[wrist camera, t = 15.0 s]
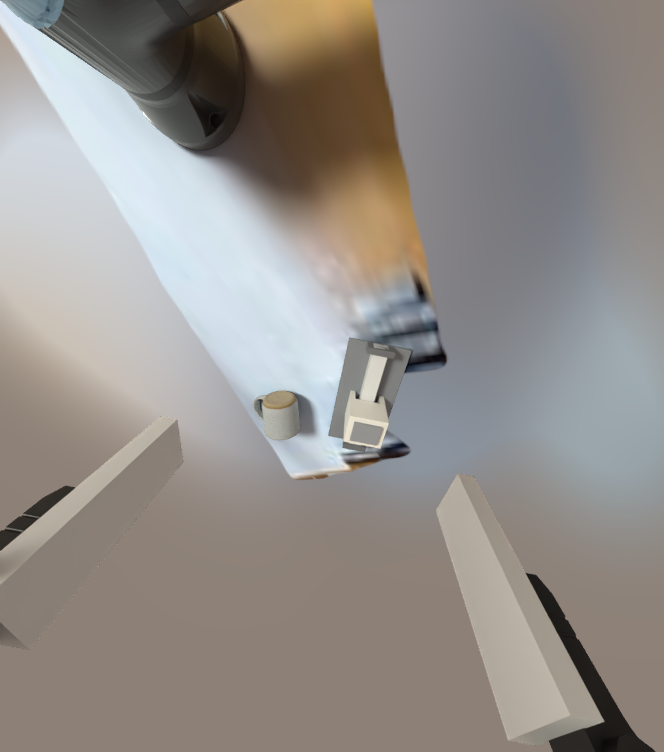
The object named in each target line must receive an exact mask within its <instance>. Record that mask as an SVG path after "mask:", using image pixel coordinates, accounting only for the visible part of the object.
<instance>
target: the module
mask: <svg viewBox="0 0 664 752" xmlns="http://www.w3.org/2000/svg"><path fill="white" fill-rule="evenodd" d="M388 425H389V421H388V416H387V411H386V406H385V401H384V397H383V396H379V397H378V400H377V403H375V402H369V401H364V400H359V399H355V391H352V390H351V391H350V395H349V399H348V403H347V408H346V412H345V423H344V439H343V441H344V442H349V443H354V444H359V445H364V446H369V447H375V448H380V447H381V444H382V442H383V439H384V436H385V433H386V430H387V427H388Z"/></svg>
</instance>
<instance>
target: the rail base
mask: <svg viewBox="0 0 664 752" xmlns="http://www.w3.org/2000/svg"><path fill="white" fill-rule="evenodd" d="M411 351H412V350H410V349H405V348H400V347H395V346H390V345H385V344H379V343H374V342H369V341H364V340H359V339H354V338H349V342H348V346H347V351H346V356H345V360H344V365H343V369H342V374H341V379H340V383H339V388H338V393H337V397H336V402H335V407H334V411H333V416H332V421H331V425H330V430H329V435H328V436H332V437H337V438H342V439H344V423H345V412H346V408H347V403H348V399H349V395H350V391H351V390H352V391H355V399H359V400H364V401H369V402H375V403H377V400H378V397H379V396H383V397H384V401H385V406H386V411H387V416H388V418H389V415H390V412H391V409H392V406H393V403H394V401H395V398H396V395H397V392H398V389H399V386H400V383H401V380H402V377H403V375H404V372H405V369H406V366H407V363H408V360H409V357H410V354H411ZM343 448H346V449H352V450H357V451H362V452H365V449H366V446H364V445H359V444H354V443H349V442H344V441H343Z"/></svg>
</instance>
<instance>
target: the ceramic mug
mask: <svg viewBox="0 0 664 752" xmlns="http://www.w3.org/2000/svg"><path fill="white" fill-rule="evenodd" d="M260 399H262V400H263V403H262V411H263V412H262V411H261V409H260ZM253 405H254V410H255V413H256V414H257V416H258V417H259V418H260V419H261V420H263V421H264V431H265V434H266V435H267V436H268V437H269V438H271V439H273V440H286V439H289V438H292V437H294V436H295V435H296V434H297V433H298V432H299V430H300V418H299V410H298V401H297V398H296V396H295V395H294V394H293V393H291V392H288V391H276V392H273V393H270V394H268V395H267V396H266V395H262V396H259V397H257V398H256V399H255V400H254V404H253Z"/></svg>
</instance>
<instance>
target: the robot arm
mask: <svg viewBox="0 0 664 752" xmlns="http://www.w3.org/2000/svg"><path fill="white" fill-rule="evenodd" d="M1 1H2V2H3V3H5V4H6V5H7V7H8V8H9V9H10V10H11V11H12V12H13V13H14V14H16V15H17V16H18V17H20V18H21V19H22V20H23V21H25V22H26V23H28V24H30V25H32V26H33V27H35V28H36V29H38V30H39V31H41V32H42V33H44V34H45V35H47V36H48V37H49V38H51V39H52V40H54V41H55V42H57V43H58V44H60V45H61V46H63V47H64V48H66V49H67V50H68V51H70V52H71V53H73V54H74V55H76V56H77V57H79V58H80V59H82V60H83V61H85V62H86V63H87V64H89V65H90V66H92V67H93V68H95V69H96V70H98V71H99V72H101V73H102V74H104V75H105V76H106V77H108V78H109V79H111V80H112V81H114V82H115V83H117V84H118V85H120V86H121V87H122V88H124V89H125V90H126V91H127V93H128V94H129V95H130V96H131V98H132V99H133V100H134V101H135V103H136V104H137V105H138V107H139V108H140V110H141V111H142V112H143V114H144V115H145V116H146V118H147V119H148V120H149V121H150V122H151V123H152V124H153V125H154V126H155V127H156V128H157V129H158V130H159V131H160V132H162V133H163V134H164V135H166V136H167V137H169V138H170V139H172V140H174V141H175V142H177V143H178V144H180V145H182V146H185V147H187V148H190V149H195V150H206V149H211V148H214V147H216V146H218V145H220V144H221V143H223V142H224V141H225V140H226V139H227V138H228V137H229V136H230V135H231V133H232V132H233V130H234V129H235V127H236V125H237V123H238V120H239V118H240V115H241V111H242V107H243V102H244V93H245V78H244V68H243V62H242V57H241V53H240V49H239V46H238V43H237V40H236V38H235V35H234V33H233V31H232V29H231V27H230V25H229V23H228V21H227V19H226V18H225V16H224V14H223V12H222V10H224V9H226V8H228V7H230V6H232V5H234V4H236V3H238V2H240V1H242V0H1ZM177 422H178V421H177V419H172V418H167V417H162V416H161V417H159V418H158V419H157V420H156V421H155V422H153V423H152V424H151V425H150V426H149V427H147V428H146V429H145V430H144V431H143V432H142V433H140V434H139V435H138V436H137V437H136V438H134V439H133V440H132V441H131V442H130V443H128V444H127V445H126V446H125V447H124V448H122V449H121V450H120V451H119V452H118V453H117V454H115V455H114V456H113V457H112V458H111V459H109V460H108V461H107V462H106V463H105V464H103V465H102V466H101V467H100V468H99V469H98V470H96V471H95V472H94V473H93V474H92V475H90V476H89V477H88V478H87V479H86V480H84V481H83V482H82V483H81V484H80V485H78V486H77V487H76V488H75V487H69V486H64V487H62V488H60V489H59V490H57V491H55V492H53V493H51V494H49V495H47V496H45V497H44V498H42V499H41V500H40V501H38V502H37V503H36V504H35V505H33V506H32V507H31V508H29V509H28V510H27V511H26V512H24V513H23V515H22V516H21V517H18V518H17V519H15V520H14V521H13V522H12V523H10V524H9V525H8V526H7V527H6V529H5V530H1V531H0V644H1V645H5V646H11V647H16V648H22V649H27V650H30V649H31V648H32V647H33V645H34V644H35V643H36V642H37V641H38V639H39V638H40V637H41V636H42V634H43V633H44V632H45V631H46V630H47V628H48V627H49V626H50V625H51V623H52V622H53V621H54V620H55V619H56V617H57V616H58V615H59V613H60V612H61V611H62V610H63V609H64V608H65V606H66V605H67V604H68V603H69V602H70V600H71V599H72V598H73V597H74V595H75V594H76V593H77V592H78V590H79V589H80V588H81V587H82V586H83V584H84V583H85V582H86V581H87V579H88V578H89V577H90V576H91V574H92V573H93V572H94V571H95V570H96V568H97V567H98V566H99V565H100V564H101V562H102V561H103V560H104V559H105V557H106V556H107V555H108V554H109V553H110V551H111V550H112V549H113V548H114V546H115V545H116V544H117V543H118V542H119V540H120V539H121V538H122V537H123V535H124V534H125V533H126V532H127V530H128V529H129V528H130V527H131V526H132V525H133V523H134V522H135V521H136V520H137V518H138V517H139V516H140V515H141V514H142V512H143V511H144V510H145V509H146V508H147V506H148V505H149V504H150V503H151V501H152V500H153V499H154V498H155V497H156V495H157V494H158V493H159V492H160V490H161V489H162V488H163V487H164V486H165V484H166V483H167V482H168V481H169V479H170V478H171V477H172V476H173V475H174V473H175V472H176V471H177V470H178V468H179V467H180V466H181V465H182V464H183V456H182V449H181V443H180V436H179V429H178V423H177ZM436 513H437V516H438V519H439V522H440V525H441V529H442V532H443V535H444V538H445V541H446V544H447V548H448V551H449V554H450V557H451V561H452V564H453V566H454V570H455V573H456V576H457V579H458V583H459V586H460V589H461V592H462V596H463V599H464V602H465V605H466V608H467V611H468V614H469V618H470V621H471V624H472V627H473V631H474V634H475V637H476V640H477V643H478V646H479V649H480V653H481V656H482V659H483V662H484V666H485V669H486V671H487V675H488V678H489V682H490V685H491V688H492V691H493V694H494V697H495V700H496V704H497V707H498V710H499V713H500V717H501V720H502V722H503V726H504V729H505V732H506V736H507V739H508V741H514V742H520V743H524V744H529V745H535V746H536V745H539V744H542V743H545V742H548V741H549V743H550V745H551V748H552V750H553V752H655V751H654V750H653V749H652V748H651V747H649V746H648V745H647V744H645V743H644V742H643V741H642V740H640V739H639V738H638V737H637V736H636V734H635V733H634V732H633V730H632V729H631V728H630V726H629V724H628V723H627V721H626V720H625V718H624V717H623V715H622V713H621V712H620V710H619V708H618V707H617V705H616V703H615V701H614V700H613V698H612V696H611V694H610V693H609V691H608V689H607V688H606V686H605V684H604V682H603V681H602V679H601V677H600V676H599V674H598V672H597V670H596V668H595V667H594V665H593V663H592V662H591V660H590V658H589V656H588V655H587V653H586V651H585V649H584V648H583V646H582V644H581V643H580V641H579V640H578V639H577V638H576V634H575V632H574V631H573V629H572V627H571V625H570V624H569V622H568V620H566V619H565V615H564V613H563V612H562V610H561V608H560V606H559V605H558V603H557V601H556V600H555V598H554V596H553V594H552V593H551V592H550V591H549V590H548V588H547V587H546V586H545V585H544V584H543V582H542V581H541V580H540V579H539V578H538V577H537V575H533V574H528V573H525V572H524V570H523V568H522V566H521V564H520V562H519V560H518V558H517V557H516V555H515V553H514V551H513V549H512V547H511V545H510V543H509V542H508V540H507V538H506V536H505V534H504V532H503V530H502V528H501V526H500V525H499V523H498V521H497V519H496V517H495V515H494V513H493V511H492V510H491V508H490V506H489V504H488V502H487V500H486V498H485V497H484V495H483V493H482V491H481V489H480V487H479V485H478V483H477V481H476V480H475V478H474V477H473V476H468V475H463V474H457V475H456V477H455V479H454V481H453V482H452V484H451V486H450V488H449V489H448V491H447V493H446V494H445V496H444V498H443V500H442V501H441V503H440V505H439V506H438V508H437V510H436Z"/></svg>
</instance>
